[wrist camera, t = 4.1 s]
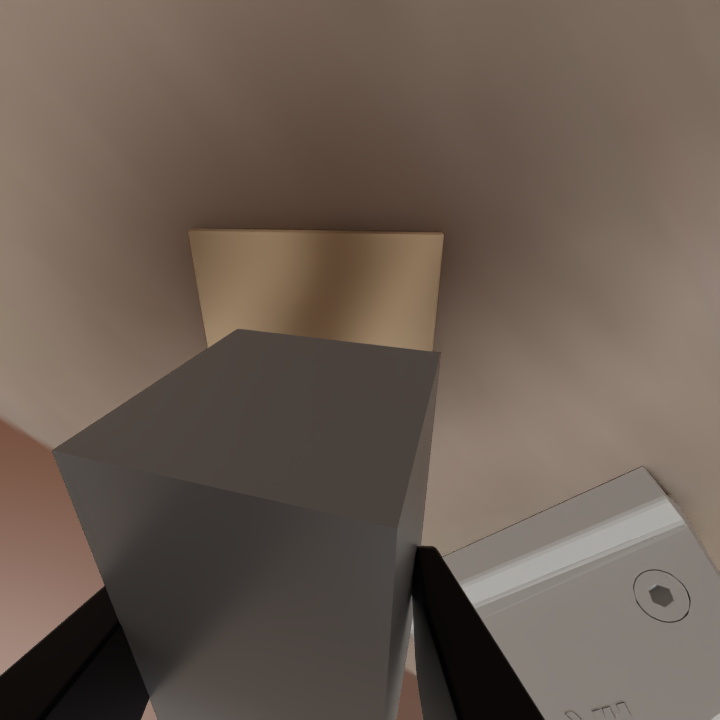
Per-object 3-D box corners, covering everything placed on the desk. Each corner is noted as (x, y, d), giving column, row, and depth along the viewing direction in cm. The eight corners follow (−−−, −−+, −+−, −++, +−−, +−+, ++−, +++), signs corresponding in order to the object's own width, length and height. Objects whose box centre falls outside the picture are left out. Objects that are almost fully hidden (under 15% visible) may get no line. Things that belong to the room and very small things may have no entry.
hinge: (650, 462, 21) (856, 716, 14) (662, 492, 24) (838, 715, 17) (385, 582, 26) (432, 815, 19) (422, 595, 29) (475, 801, 22)
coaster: (441, 232, 16) (443, 235, 16) (422, 436, 21) (423, 443, 20) (193, 228, 17) (187, 230, 16) (227, 430, 21) (223, 437, 21)
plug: (237, 328, 8) (440, 352, 7) (275, 621, 12) (408, 661, 11) (51, 450, 5) (397, 529, 4) (190, 803, 9) (373, 884, 8)
